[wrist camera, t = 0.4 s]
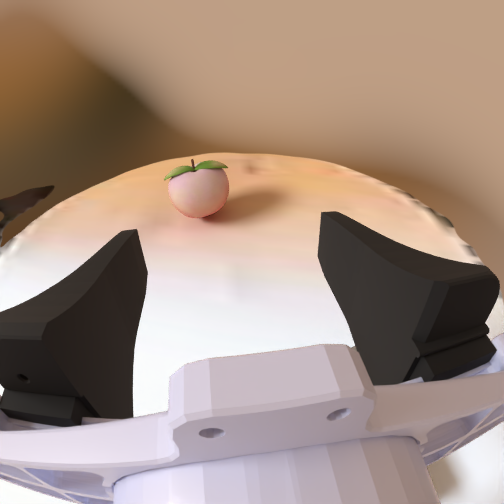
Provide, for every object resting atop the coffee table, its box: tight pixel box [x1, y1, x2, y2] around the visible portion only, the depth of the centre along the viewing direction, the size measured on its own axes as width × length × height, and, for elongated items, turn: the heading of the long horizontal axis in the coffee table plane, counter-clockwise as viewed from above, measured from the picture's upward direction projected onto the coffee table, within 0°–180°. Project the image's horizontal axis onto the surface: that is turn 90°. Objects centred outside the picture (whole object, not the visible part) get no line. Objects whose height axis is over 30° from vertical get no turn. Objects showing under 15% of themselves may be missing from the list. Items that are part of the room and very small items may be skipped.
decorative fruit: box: [164, 159, 229, 218], centre depth 46 cm, size 9×8×10 cm
